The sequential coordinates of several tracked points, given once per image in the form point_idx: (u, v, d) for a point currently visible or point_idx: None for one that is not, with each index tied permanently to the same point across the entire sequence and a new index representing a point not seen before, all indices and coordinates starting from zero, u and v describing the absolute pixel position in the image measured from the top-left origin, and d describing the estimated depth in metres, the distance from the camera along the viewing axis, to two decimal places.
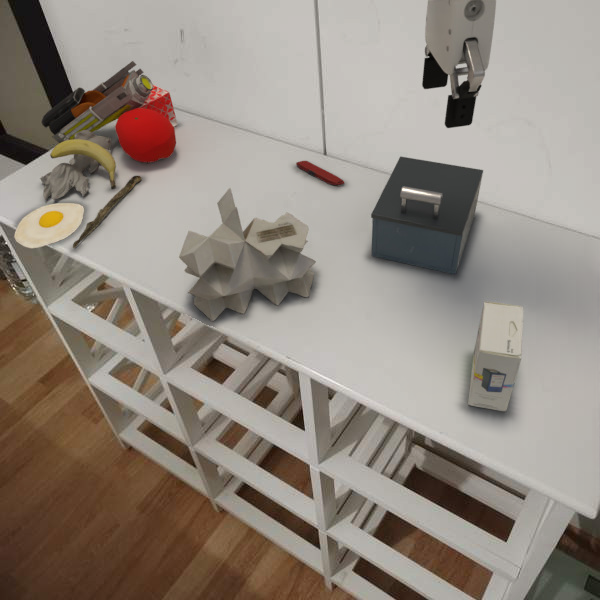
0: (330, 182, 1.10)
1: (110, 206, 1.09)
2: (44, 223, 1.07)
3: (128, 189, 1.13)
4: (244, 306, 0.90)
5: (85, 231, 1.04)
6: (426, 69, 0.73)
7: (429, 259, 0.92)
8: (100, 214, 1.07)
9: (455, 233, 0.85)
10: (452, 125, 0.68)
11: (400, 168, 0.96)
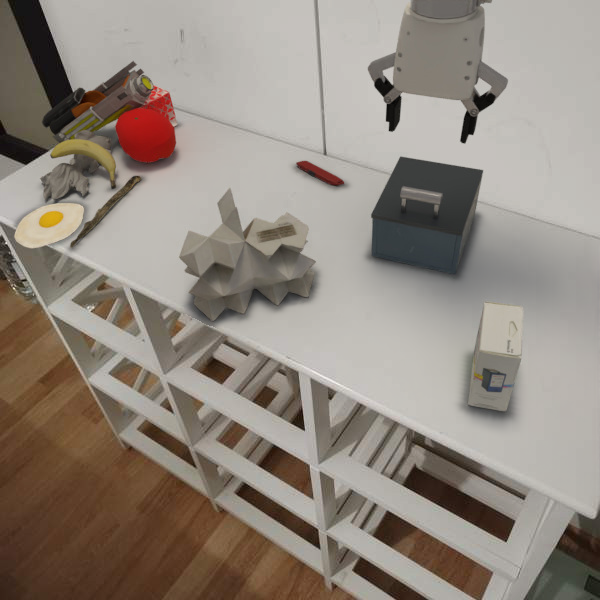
0: (330, 182, 1.10)
1: (109, 206, 1.09)
2: (44, 223, 1.07)
3: (127, 189, 1.13)
4: (244, 306, 0.90)
5: (83, 231, 1.05)
6: (394, 113, 0.75)
7: (429, 259, 0.92)
8: (99, 214, 1.07)
9: (455, 233, 0.85)
10: (466, 139, 0.75)
11: (400, 168, 0.96)
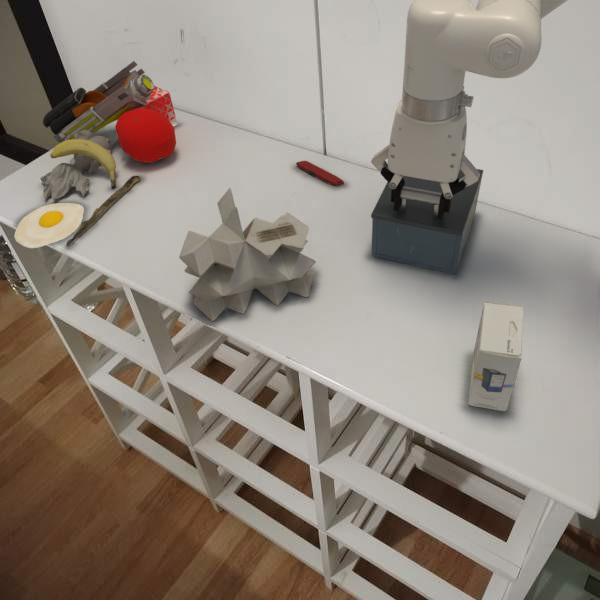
0: (330, 182, 1.10)
1: (106, 205, 1.09)
2: (44, 223, 1.07)
3: (126, 189, 1.13)
4: (244, 306, 0.90)
5: (79, 230, 1.05)
6: (398, 197, 0.85)
7: (429, 259, 0.92)
8: (96, 213, 1.07)
9: (455, 233, 0.85)
10: (442, 216, 0.85)
11: None
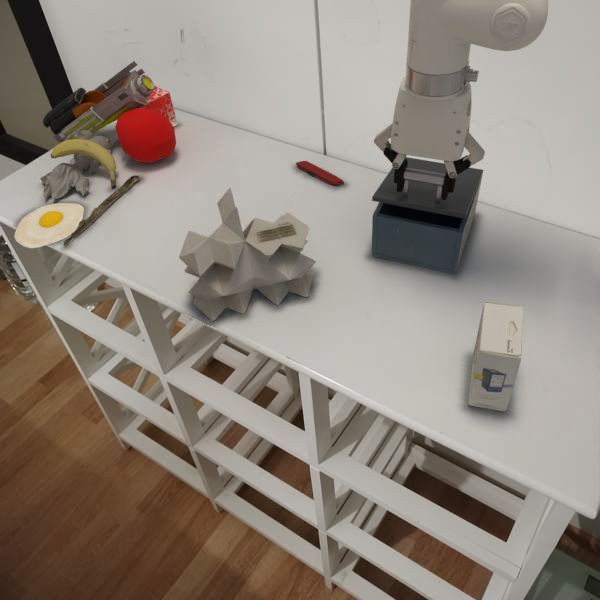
0: (330, 182, 1.10)
1: (105, 205, 1.09)
2: (44, 223, 1.07)
3: (125, 189, 1.13)
4: (244, 306, 0.90)
5: (77, 229, 1.05)
6: (401, 177, 0.84)
7: (429, 259, 0.92)
8: (94, 213, 1.08)
9: (458, 215, 0.83)
10: (447, 196, 0.84)
11: None
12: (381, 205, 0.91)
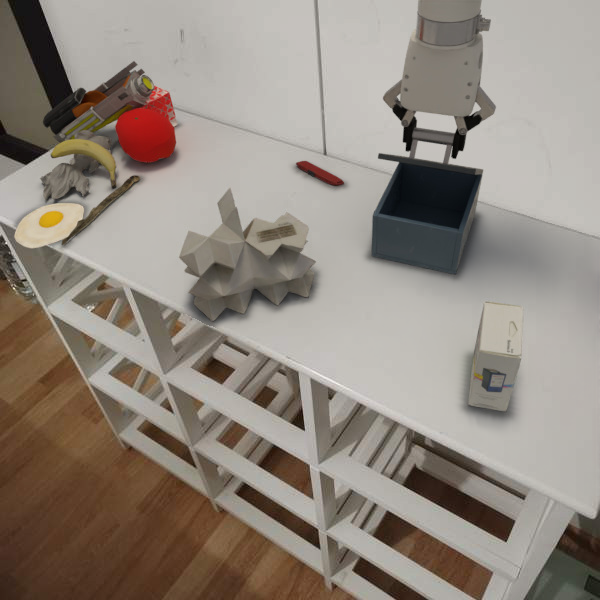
0: (330, 182, 1.10)
1: (104, 205, 1.09)
2: (44, 223, 1.07)
3: (124, 188, 1.13)
4: (244, 306, 0.90)
5: (75, 229, 1.05)
6: (410, 135, 0.83)
7: (429, 259, 0.92)
8: (93, 213, 1.08)
9: (468, 171, 0.80)
10: (456, 155, 0.83)
11: None
12: (381, 205, 0.91)
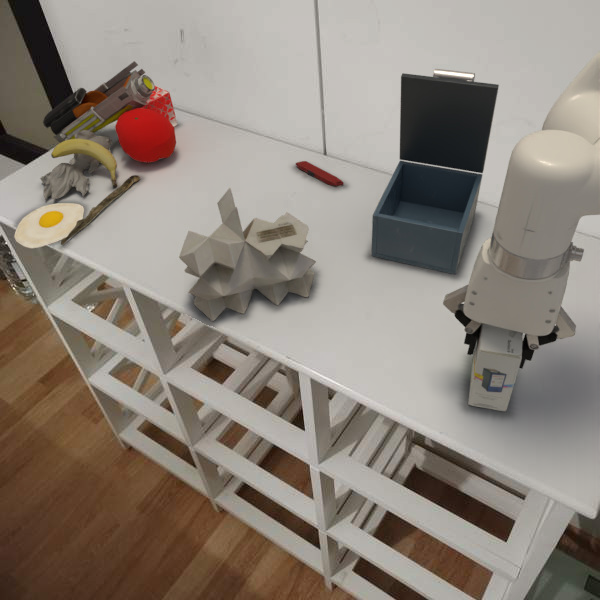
0: (329, 183, 1.10)
1: (103, 205, 1.09)
2: (44, 223, 1.07)
3: (124, 188, 1.13)
4: (244, 306, 0.90)
5: (75, 228, 1.05)
6: (475, 342, 0.71)
7: (429, 259, 0.92)
8: (93, 212, 1.08)
9: (491, 85, 0.81)
10: None
11: None
12: (381, 205, 0.91)
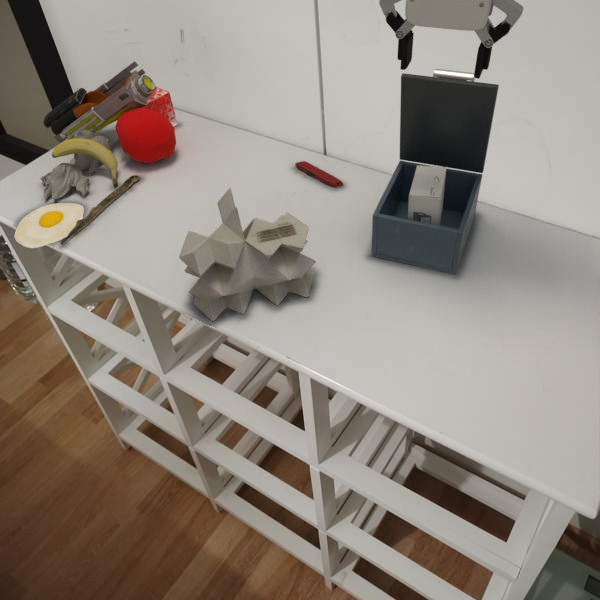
0: (329, 183, 1.10)
1: (103, 205, 1.09)
2: (44, 223, 1.07)
3: (124, 188, 1.13)
4: (244, 306, 0.90)
5: (75, 228, 1.05)
6: (406, 49, 0.74)
7: (429, 259, 0.92)
8: (92, 212, 1.08)
9: (491, 85, 0.81)
10: (480, 74, 0.73)
11: None
12: (381, 205, 0.91)
